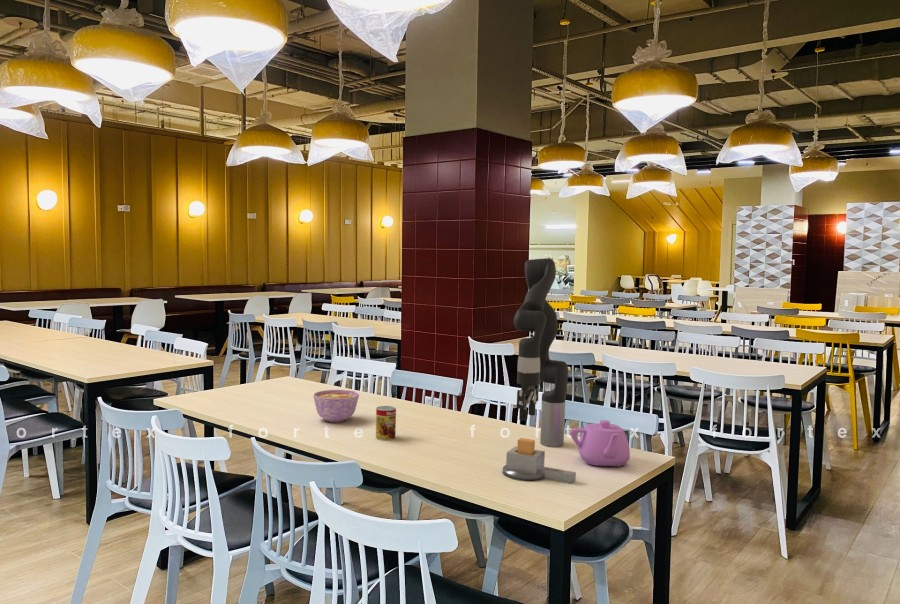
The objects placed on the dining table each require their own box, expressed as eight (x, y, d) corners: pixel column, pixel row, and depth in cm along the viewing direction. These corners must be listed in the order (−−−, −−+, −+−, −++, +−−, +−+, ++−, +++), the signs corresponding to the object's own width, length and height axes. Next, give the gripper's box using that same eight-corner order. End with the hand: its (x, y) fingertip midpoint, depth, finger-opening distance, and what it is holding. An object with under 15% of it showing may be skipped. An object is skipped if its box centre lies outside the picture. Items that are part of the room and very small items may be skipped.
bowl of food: (367, 418, 287) (368, 393, 287) (340, 428, 270) (340, 400, 269) (332, 412, 297) (332, 388, 296) (303, 421, 279) (303, 395, 278)
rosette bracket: (512, 464, 227) (513, 443, 226) (580, 476, 216) (581, 454, 215) (495, 475, 214) (496, 453, 213) (567, 489, 202) (568, 466, 202)
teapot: (564, 454, 240) (565, 415, 239) (619, 455, 241) (621, 415, 240) (578, 474, 217) (580, 430, 216) (640, 475, 218) (642, 431, 217)
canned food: (392, 441, 252) (392, 410, 252) (373, 439, 254) (373, 409, 253) (397, 435, 260) (398, 406, 259) (379, 434, 262) (379, 405, 261)
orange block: (519, 466, 219) (520, 437, 219) (533, 469, 217) (534, 440, 216) (516, 469, 217) (517, 439, 216) (530, 471, 214) (531, 442, 214)
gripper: (525, 366, 223) (524, 412, 224) (510, 371, 210) (508, 420, 211) (546, 368, 219) (544, 414, 220) (531, 374, 207) (530, 423, 208)
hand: (527, 417), depth 216 cm, fingers open, 8 cm apart
